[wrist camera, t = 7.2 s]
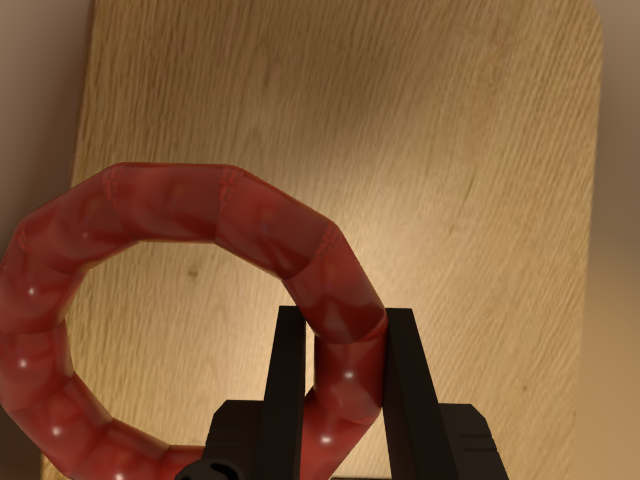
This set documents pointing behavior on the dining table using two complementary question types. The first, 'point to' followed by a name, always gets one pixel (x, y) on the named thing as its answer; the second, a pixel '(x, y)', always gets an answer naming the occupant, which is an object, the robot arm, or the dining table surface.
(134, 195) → the ring
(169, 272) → the dining table surface
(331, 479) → the stand
